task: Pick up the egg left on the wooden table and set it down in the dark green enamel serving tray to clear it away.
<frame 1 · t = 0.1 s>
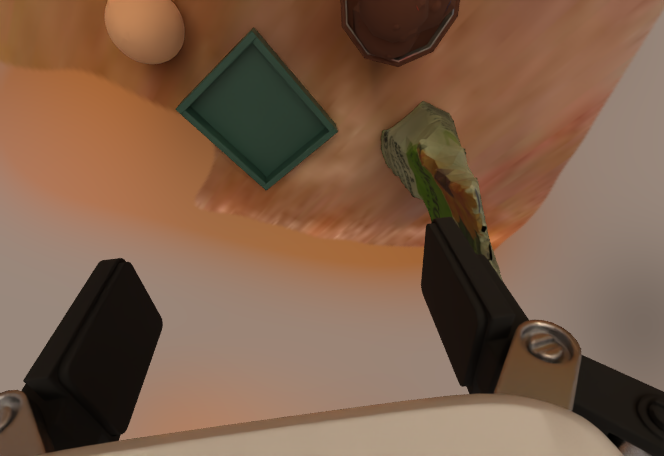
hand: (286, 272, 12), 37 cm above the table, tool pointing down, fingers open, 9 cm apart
tray: (261, 114, 46), on the table
egg: (160, 21, 39), on the table
pouch: (413, 139, 50), on the table
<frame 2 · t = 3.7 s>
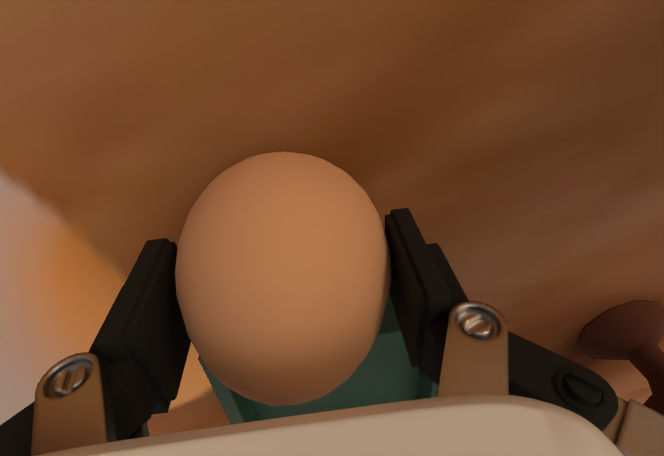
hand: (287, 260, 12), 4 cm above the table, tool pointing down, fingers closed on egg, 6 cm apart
tray: (335, 376, 24), on the table
ice cream bowl: (618, 326, 24), on the table
egg: (285, 195, 16), on the table, touching gripper
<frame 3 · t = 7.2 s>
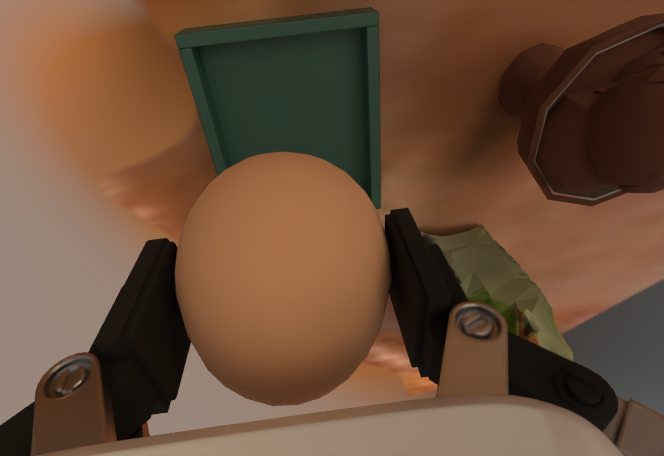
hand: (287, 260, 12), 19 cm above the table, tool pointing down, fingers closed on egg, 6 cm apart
tray: (294, 124, 28), on the table
ice cream bowl: (532, 81, 28), on the table
egg: (285, 195, 16), point 14 cm above the table, touching gripper
pouch: (438, 254, 38), on the table
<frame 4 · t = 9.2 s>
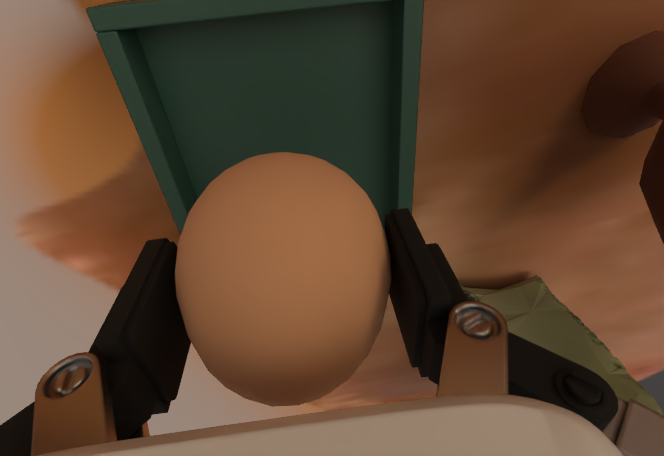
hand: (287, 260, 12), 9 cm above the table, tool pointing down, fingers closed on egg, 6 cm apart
tray: (288, 146, 20), on the table
ice cream bowl: (631, 87, 20), on the table
egg: (285, 195, 16), point 5 cm above the table, touching gripper
pouch: (476, 308, 30), on the table
when the fingers open (5 cm above the table, at t = 10.9 s): egg stays where it is, resting on tray.
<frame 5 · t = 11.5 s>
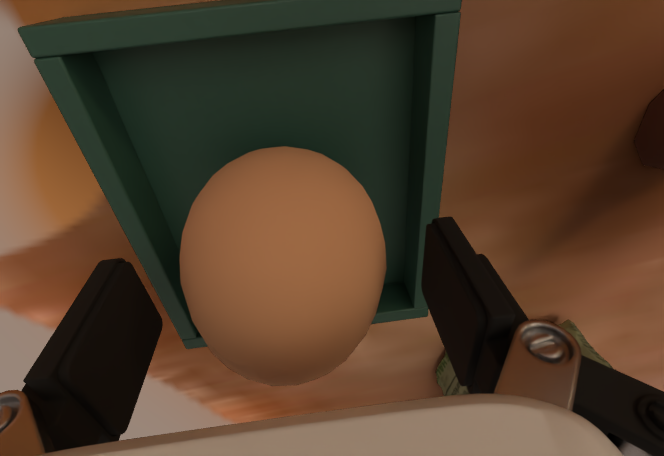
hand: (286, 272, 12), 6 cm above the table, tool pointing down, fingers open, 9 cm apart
tray: (286, 185, 16), on the table
egg: (285, 189, 16), resting on tray
pouch: (497, 353, 26), on the table
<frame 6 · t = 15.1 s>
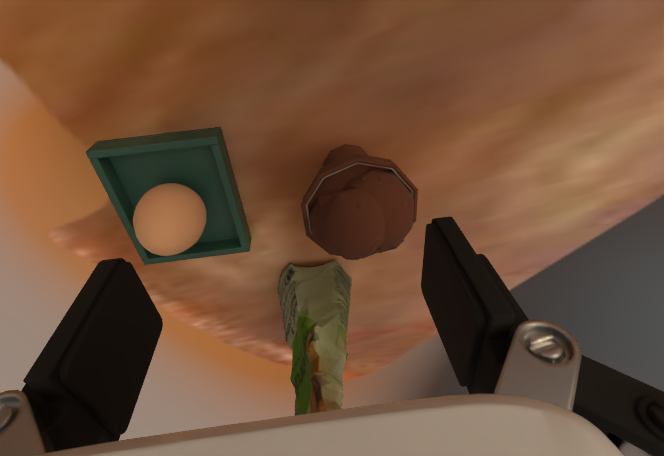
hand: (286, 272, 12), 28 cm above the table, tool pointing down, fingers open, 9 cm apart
tray: (182, 195, 41), on the table
ice cream bowl: (346, 166, 41), on the table
egg: (181, 197, 41), resting on tray
pouch: (312, 280, 51), on the table
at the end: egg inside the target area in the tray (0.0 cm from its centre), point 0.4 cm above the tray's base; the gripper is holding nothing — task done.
